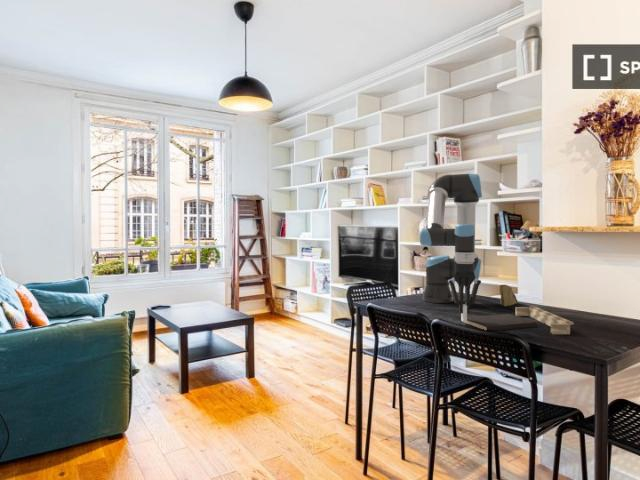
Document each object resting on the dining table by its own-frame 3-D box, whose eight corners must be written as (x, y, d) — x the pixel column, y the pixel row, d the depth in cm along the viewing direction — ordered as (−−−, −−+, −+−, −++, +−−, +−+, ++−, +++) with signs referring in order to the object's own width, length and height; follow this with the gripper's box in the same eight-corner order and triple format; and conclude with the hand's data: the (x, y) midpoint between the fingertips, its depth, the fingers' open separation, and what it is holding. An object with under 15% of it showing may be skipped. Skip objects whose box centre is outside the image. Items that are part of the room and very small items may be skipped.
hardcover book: (461, 322, 176) (461, 317, 176) (508, 319, 182) (508, 313, 182) (486, 332, 160) (486, 326, 160) (537, 327, 167) (537, 322, 167)
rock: (514, 297, 217) (494, 294, 217) (520, 285, 212) (501, 283, 212) (520, 313, 209) (500, 311, 209) (527, 301, 203) (507, 299, 203)
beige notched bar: (515, 315, 186) (515, 305, 186) (532, 315, 186) (533, 305, 186) (552, 334, 155) (552, 322, 155) (573, 334, 155) (573, 322, 155)
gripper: (450, 263, 167) (450, 323, 168) (484, 263, 167) (483, 323, 168) (445, 261, 174) (445, 318, 176) (477, 261, 174) (477, 318, 175)
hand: (464, 321), depth 172 cm, fingers closed
